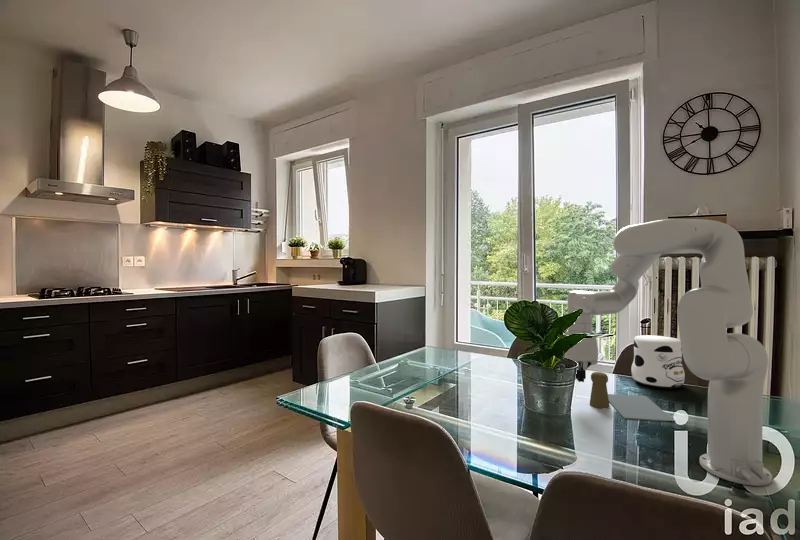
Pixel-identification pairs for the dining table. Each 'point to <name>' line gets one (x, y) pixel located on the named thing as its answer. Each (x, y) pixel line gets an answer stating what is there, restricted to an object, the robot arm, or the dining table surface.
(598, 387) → the cork
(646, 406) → the mat
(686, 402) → the dining table surface
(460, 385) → the dining table surface
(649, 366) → the milk container
